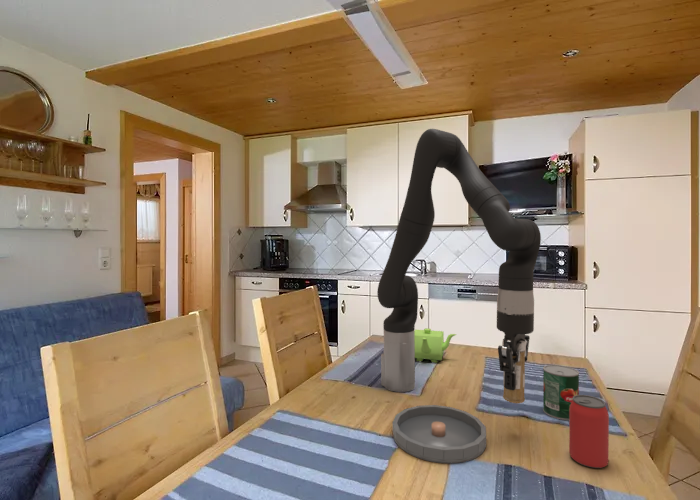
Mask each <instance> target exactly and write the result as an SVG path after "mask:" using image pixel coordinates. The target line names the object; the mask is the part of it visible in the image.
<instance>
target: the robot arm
mask: <svg viewBox="0 0 700 500" xmlns="http://www.w3.org/2000/svg"><path fill="white" fill-rule="evenodd" d="M412 162H413V163H412V167H411V173H410V174H411V175H410V177H409V178H410V180H409V183H408V186H407V187H408V188H407V191H406V196H405V199H404V203H403V207H402V210H401V214H400V217H399V221H398V224H397V228H396V231H395V232H396V233H395V236H394V239H393V242H392V246H391V249H390V253H389V256H388V259H387V262H386V264H385V267H384V269H383V272H382V274H381V276H380V280H379V282H378V286H377V294H376V295H377V299H378V302H379V304H380V305H381V307H383V308H385V309H392V311H391V313H390V314H389V315H388V316H387V317H386V318H384V319H383V324H382V325H383V326H382V327H383V352H382V353H381V354H380V362H381V364H380V366H381V367H380V368H381V369H380V376H381V377H380V378H381V379H380V380H381V381H380V382H381V386H383V387H384V388H385V390H388V391H390V392H397V393H398V392H399V393H404V392H405V393H406V392H410V391H413V390H414V389H415V388H416V358H415V330H416V329H415V326H416V325H415V324H416V323H417V320H418V307H419V291H418V286H417V283H416V280H415V279H414V278H413V277H411V276H410V275H406V274H407V271H408V269H409V267H410V265H411V263H412V262H413V261H414V260H415V258H416V257H417V256H418V255H419V254H420V252H421V251H422V250H423V248H424V247H425V245H426V244H427V243H428V241H429V238H430V235H431V232H432V230H433V229H432V228H433V227H434V226H433V225H434V222H435V205H434V200H433V195H432V186H433V179H434V176H435V172H436V169H437V168H440V169H445V170H446V171H448V172H449V173H451V174H452V176H454V177H455V178H456V180H457V181H458V183H459V184H460V188H461V192H462V194H463V198H464V200H465V202H467V204H468V205H469V206H470V207H471V209H472V210H473V212H475V214H476V215H478V217H479V218H480V219H481V221H482V223H483V225H484V226H483V227H484V228H485V229H486V232H487V233H488V236H489V238H490V240H491V241H492V242H493V244H495V245H496V247H498V248H499V249H501V250H503V251H506V252H509V253H508V257H507V260H506V261H505V262H503V263H501V264H500V265H499V269H498V287H497V296H496V298H497V299H496V329H497V330H498V331H500V332H502V333H504V338H503V339H502V344H501V345H498V347H497V354H498V363H499V371H501V372H503V375H504V383H503V388H504V387H505V388H506V389H509V390H515V389H516V368H517V363H519V362H520V355H521V351H520V350H521V349H522V343H523V342H519V341H521V340H522V341H525V342H526V350H525V363H526V362H528V355H529V354H528V353H529V347H530V340H531V339H530V335H529V334H532V333H533V332H534V328H535V327H534V325H535V322H534V321H535V297H534V269H535V266H536V264H537V260H538V256H539V252H540V249H541V248H540V247H541V243H542V242H541V241H542V235H541V231H540V228H539V225H537V223H536V222H535V221H533V220H531V219H528V218H527V219H526V218H515V217H514V216H513V215H511V213H510V210H511V205H510V202H509V200H508V199H507V198H506V196H505V195H503V193H501V192H500V190H499V189H498V188H497V187H496V186H495V185H494V184H493V183H492V182H491V180H490V179H488V177H487V176H486V175H485V174H484V173H483V172H482V171H481V169H480V168H479V167H478V165H477V164H476V162H475V161H474V159H473V158H472V156H471V155H470V153H469V152H468V149H467V148H466V146H465V145H464V143H463V142H462V140H461V139H460V137H458V135H456V134H454V133H451V132H448V131H444V130H440V129H437V128H428V129H426V130H425V131H423V132H422V134H421V135H420V137H419V139H418V140H417V144H416V146H415V151H414V156H413V161H412ZM512 356H516V358H514V359H513V358H512ZM507 364H509V366H507ZM504 372H505V374H504Z"/></svg>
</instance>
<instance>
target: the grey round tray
mask: <svg viewBox="0 0 700 500" xmlns="http://www.w3.org/2000/svg"><path fill="white" fill-rule="evenodd" d="M392 433H393V439H394V441H395V444H396V445H397V446H398V447H399V449H401V450H402V451H404V453H407V454H408V455H410V456H412V457H414V458H417V459H420V460H423V461H426V462H431V463H436V464H437V463H438V464H460V462H461V463H465V462H466V461H467V462H469V461H470V462H471V461H472V460H474V459H477V458H478V457H480V456H482V454H483V453H484V452H485V450H486V447H487V427H486V425H485V424H484V423H483V422H482V421H481V419H480V418H479V417H477V416H475V415H473V414H471V413H469V412H467V411H465V410H462V409H458V408H455V407H451V406H445V405H437V404H428V405H427V404H425V405H415V406H412V407H408V408H405V409H403V410H402V411H400V412H398V413H397V414H395V416H394V418H393V421H392Z"/></svg>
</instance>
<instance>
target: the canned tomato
mask: <svg viewBox="0 0 700 500" xmlns="http://www.w3.org/2000/svg"><path fill="white" fill-rule="evenodd" d="M542 375H543V376H542V377H543V385H542V386H543V401H542V402H543V408H542V410H543V413H544V414H546V415H547V416H549V417H551V418H554V419H558V420H562V421H569V408H570V405H571V402H572V401H573V399H572V398H573V396H576V395H580V393H579V390H580V382H579V381H580V372H579V371H578V370H577V369H575V368H573V367H570V366H567V365H566V366H565V365H560V364H547V365H545V366H543V373H542Z"/></svg>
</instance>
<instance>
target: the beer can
mask: <svg viewBox="0 0 700 500" xmlns="http://www.w3.org/2000/svg"><path fill="white" fill-rule="evenodd" d="M572 399H573V401H572V402H571V405H570V408H569V420H568V421H569V422H568V423H569V424H568V425H569V426H568V427H569V435H568V437H569V439H568V441H569V442H568V443H569V445H568V448H569V449H568V450H569V456H570V457H571V458H572V459H573V460H574V462H576V463H578V464H580V465H582V466H585V467H587V468H592V469H601V468H605V467H606V466H608V465H609V454H610V453H609V452H610V451H609V449H610V448H609V445H610V444H609V440H610V439H609V438H610V435H609V434H610V432H609V429H610V427H609V426H610V425H609V424H610V423H609V422H610V421H609V420H610V419H609V418H610V416H609V412H608V409H607V407H606V404H607V403H606V402H605V401H604V400H603V399H601V398H599V397H596V396H592V395H589V394H588V395H586V394H579V395H576V396H573V398H572Z"/></svg>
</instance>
